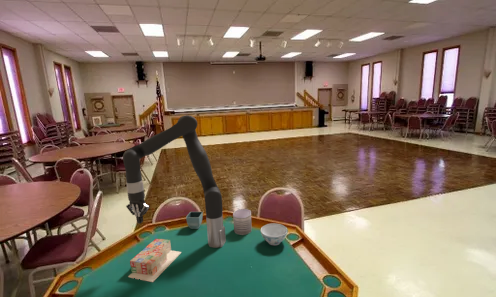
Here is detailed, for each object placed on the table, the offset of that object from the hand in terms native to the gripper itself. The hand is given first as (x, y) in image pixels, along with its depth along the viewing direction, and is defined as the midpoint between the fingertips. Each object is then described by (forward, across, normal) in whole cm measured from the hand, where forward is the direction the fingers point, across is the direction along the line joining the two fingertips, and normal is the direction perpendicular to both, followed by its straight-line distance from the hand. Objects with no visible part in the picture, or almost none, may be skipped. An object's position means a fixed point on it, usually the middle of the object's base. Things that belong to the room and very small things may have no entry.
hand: (140, 222), depth 129 cm
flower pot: (+22, -7, -40) cm, 46 cm away
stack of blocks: (+19, +2, -1) cm, 19 cm away
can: (+23, -39, -43) cm, 62 cm away
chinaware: (+23, -61, -34) cm, 73 cm away
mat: (+22, -7, 0) cm, 23 cm away
